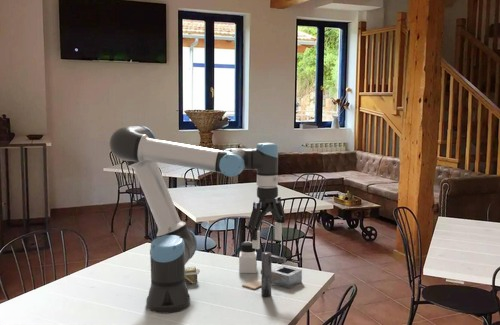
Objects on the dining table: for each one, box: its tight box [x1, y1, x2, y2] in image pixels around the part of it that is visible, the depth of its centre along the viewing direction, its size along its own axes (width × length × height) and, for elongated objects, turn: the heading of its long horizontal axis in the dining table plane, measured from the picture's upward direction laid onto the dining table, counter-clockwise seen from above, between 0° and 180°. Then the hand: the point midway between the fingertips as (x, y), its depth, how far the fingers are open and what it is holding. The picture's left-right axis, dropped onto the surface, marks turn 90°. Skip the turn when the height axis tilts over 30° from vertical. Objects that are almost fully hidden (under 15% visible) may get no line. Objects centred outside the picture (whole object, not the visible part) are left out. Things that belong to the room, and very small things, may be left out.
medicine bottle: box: [238, 241, 258, 274], centre depth 212 cm, size 7×7×12 cm
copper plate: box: [241, 279, 262, 291], centre depth 196 cm, size 7×6×1 cm
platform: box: [185, 266, 201, 284], centre depth 197 cm, size 12×18×7 cm, turn 108°
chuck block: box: [260, 264, 303, 290], centre depth 200 cm, size 9×16×5 cm, turn 52°
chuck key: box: [260, 251, 287, 298], centre depth 183 cm, size 10×4×16 cm, turn 52°
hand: (267, 244), depth 183 cm, fingers open, 13 cm apart
